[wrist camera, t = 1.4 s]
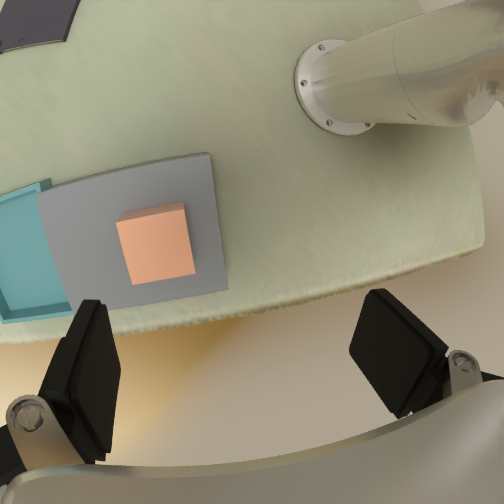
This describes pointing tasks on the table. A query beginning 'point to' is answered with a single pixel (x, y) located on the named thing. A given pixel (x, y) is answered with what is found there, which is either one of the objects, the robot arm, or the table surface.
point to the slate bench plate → (107, 238)
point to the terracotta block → (156, 243)
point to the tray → (27, 261)
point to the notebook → (35, 22)
